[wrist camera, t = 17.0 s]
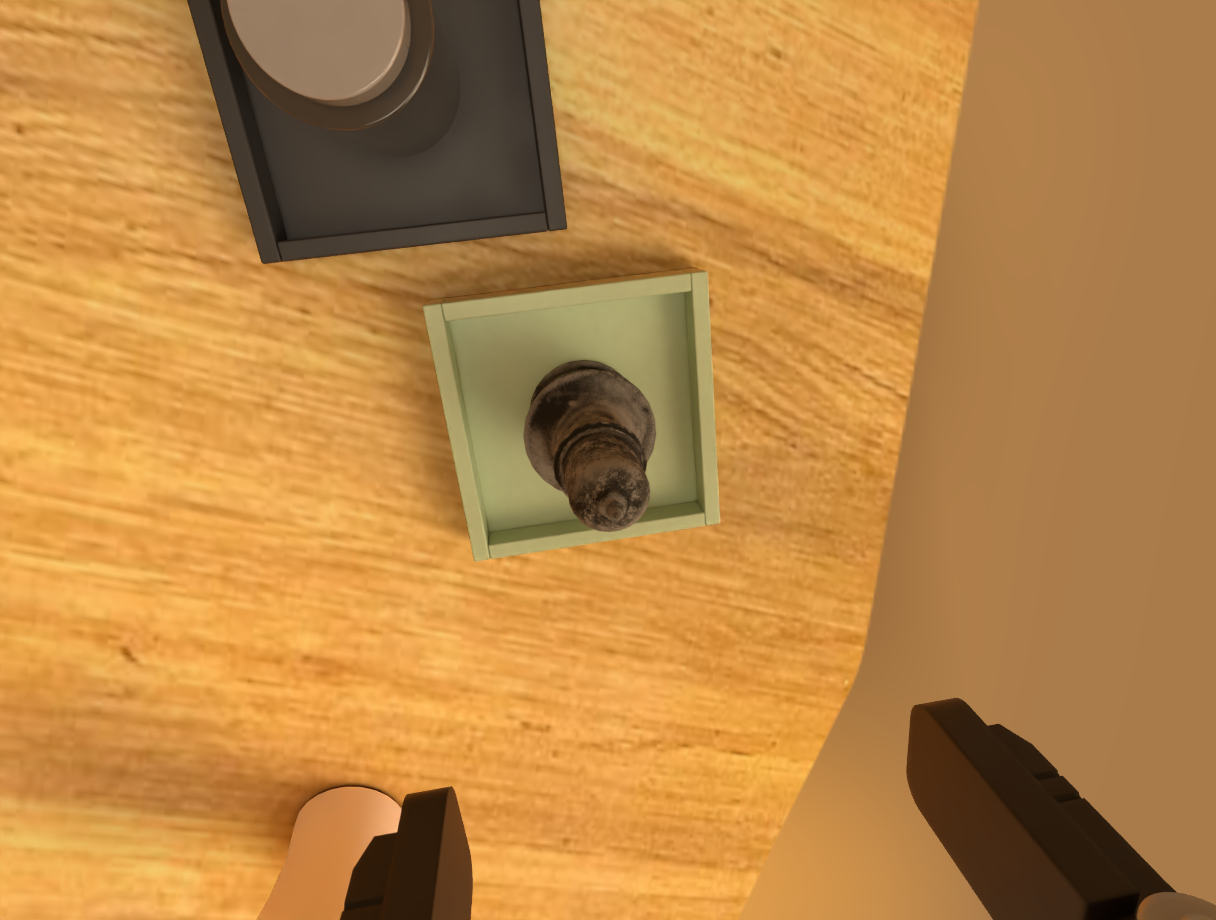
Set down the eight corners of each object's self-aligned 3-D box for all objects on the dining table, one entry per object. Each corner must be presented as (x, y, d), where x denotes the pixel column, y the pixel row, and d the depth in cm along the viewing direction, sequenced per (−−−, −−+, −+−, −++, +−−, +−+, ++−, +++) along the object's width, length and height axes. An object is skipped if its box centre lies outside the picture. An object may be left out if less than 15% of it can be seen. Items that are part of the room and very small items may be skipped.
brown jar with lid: (446, -7, 26) (402, -141, 16) (472, 150, 28) (446, 114, 18) (299, 5, 25) (165, -125, 16) (336, 164, 27) (236, 134, 18)
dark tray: (521, -117, 25) (522, -146, 23) (564, 228, 30) (567, 229, 28) (181, -93, 24) (151, -121, 22) (279, 261, 29) (261, 264, 27)
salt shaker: (639, 468, 33) (699, 592, 22) (524, 470, 33) (525, 600, 22) (645, 353, 31) (713, 427, 20) (521, 353, 31) (522, 430, 20)
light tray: (696, 267, 31) (708, 270, 29) (709, 507, 35) (720, 524, 33) (428, 300, 30) (421, 305, 28) (476, 542, 34) (474, 562, 32)
